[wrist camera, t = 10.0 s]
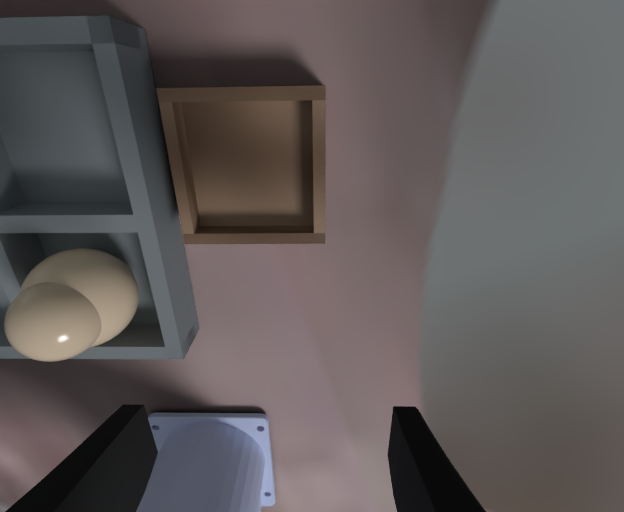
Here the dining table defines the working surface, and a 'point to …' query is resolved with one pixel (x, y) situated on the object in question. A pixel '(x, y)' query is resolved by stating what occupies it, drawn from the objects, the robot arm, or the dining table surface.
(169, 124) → the brown square tray
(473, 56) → the dining table surface
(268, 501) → the robot arm
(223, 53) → the dining table surface
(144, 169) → the egg tray
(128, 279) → the brown egg
